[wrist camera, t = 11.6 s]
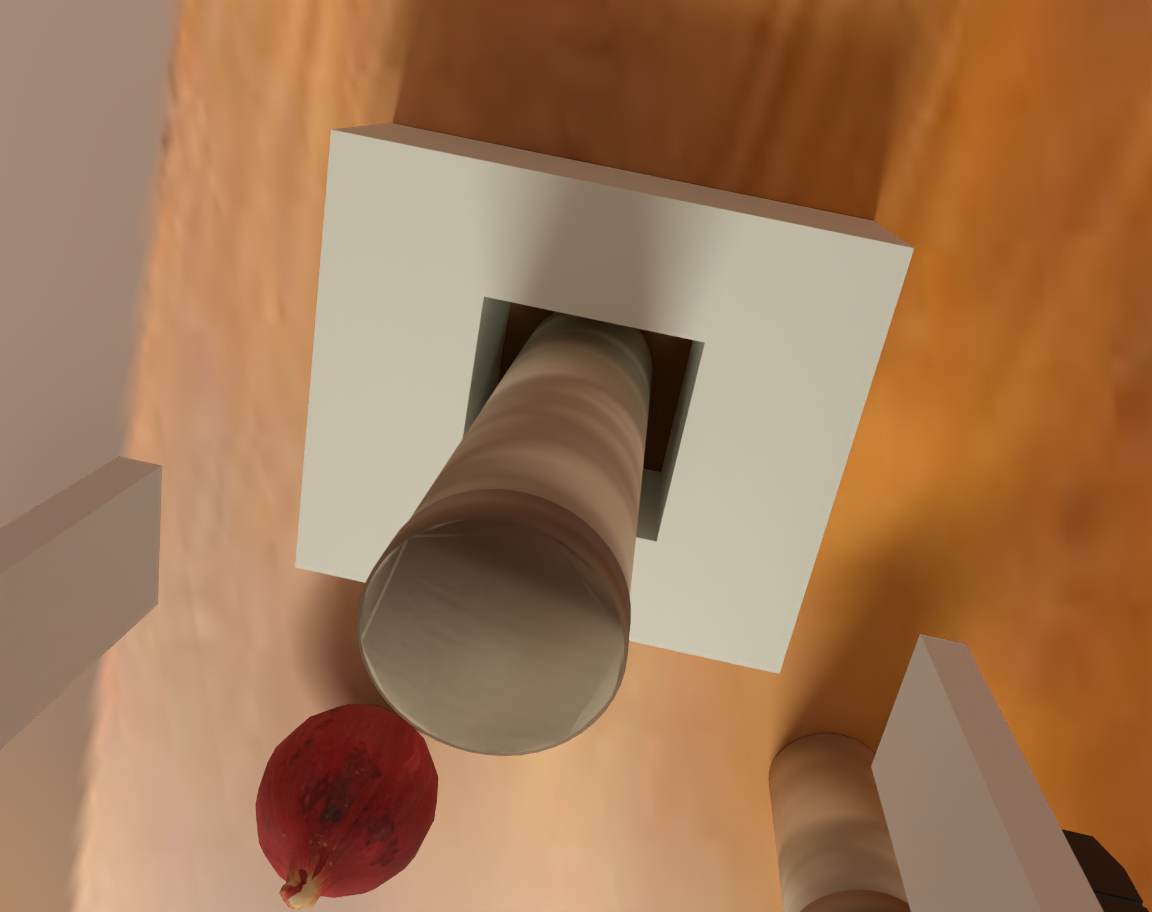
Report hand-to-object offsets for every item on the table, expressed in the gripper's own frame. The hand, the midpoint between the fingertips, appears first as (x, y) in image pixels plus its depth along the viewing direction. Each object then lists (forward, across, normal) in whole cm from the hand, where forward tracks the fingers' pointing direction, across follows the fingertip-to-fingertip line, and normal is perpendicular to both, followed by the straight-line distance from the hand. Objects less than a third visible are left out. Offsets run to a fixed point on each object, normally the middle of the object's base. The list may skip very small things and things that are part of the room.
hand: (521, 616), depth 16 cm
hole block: (+14, 0, 0) cm, 14 cm away
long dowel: (+14, 0, -1) cm, 14 cm away
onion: (+14, +5, +14) cm, 21 cm away
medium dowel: (+14, -11, +12) cm, 22 cm away
